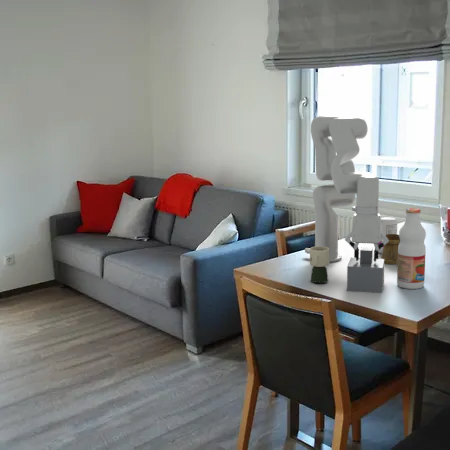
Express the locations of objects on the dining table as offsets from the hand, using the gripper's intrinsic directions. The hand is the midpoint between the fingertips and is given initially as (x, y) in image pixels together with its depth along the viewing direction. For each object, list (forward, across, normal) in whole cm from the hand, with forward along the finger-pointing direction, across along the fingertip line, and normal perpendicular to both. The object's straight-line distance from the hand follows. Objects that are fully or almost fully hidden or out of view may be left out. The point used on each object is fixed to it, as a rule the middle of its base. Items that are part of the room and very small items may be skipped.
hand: (366, 259), depth 216 cm
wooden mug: (+10, +10, +35) cm, 38 cm away
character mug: (+10, -17, +2) cm, 20 cm away
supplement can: (+10, +5, +51) cm, 52 cm away
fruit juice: (+10, +15, +5) cm, 19 cm away
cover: (+10, 0, 0) cm, 10 cm away
